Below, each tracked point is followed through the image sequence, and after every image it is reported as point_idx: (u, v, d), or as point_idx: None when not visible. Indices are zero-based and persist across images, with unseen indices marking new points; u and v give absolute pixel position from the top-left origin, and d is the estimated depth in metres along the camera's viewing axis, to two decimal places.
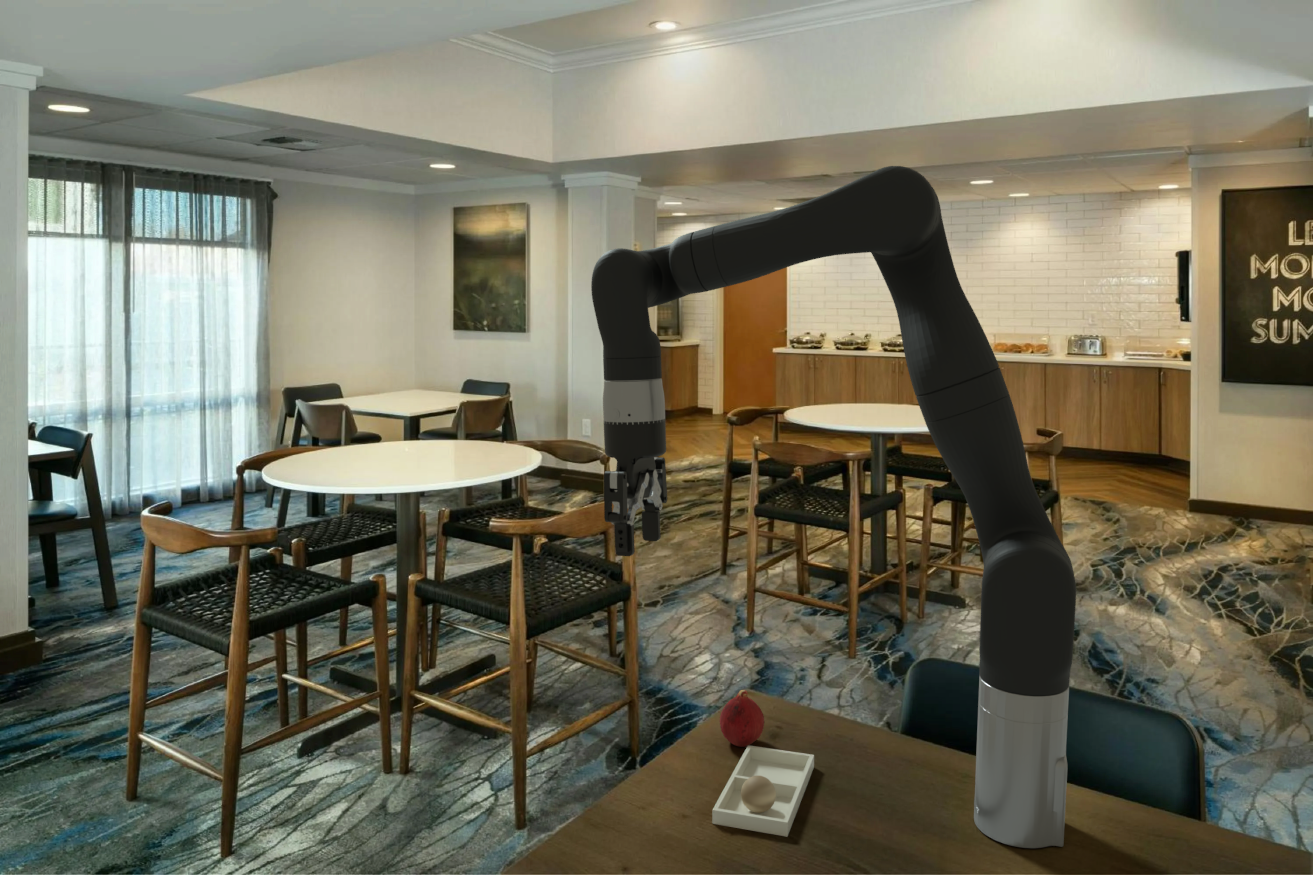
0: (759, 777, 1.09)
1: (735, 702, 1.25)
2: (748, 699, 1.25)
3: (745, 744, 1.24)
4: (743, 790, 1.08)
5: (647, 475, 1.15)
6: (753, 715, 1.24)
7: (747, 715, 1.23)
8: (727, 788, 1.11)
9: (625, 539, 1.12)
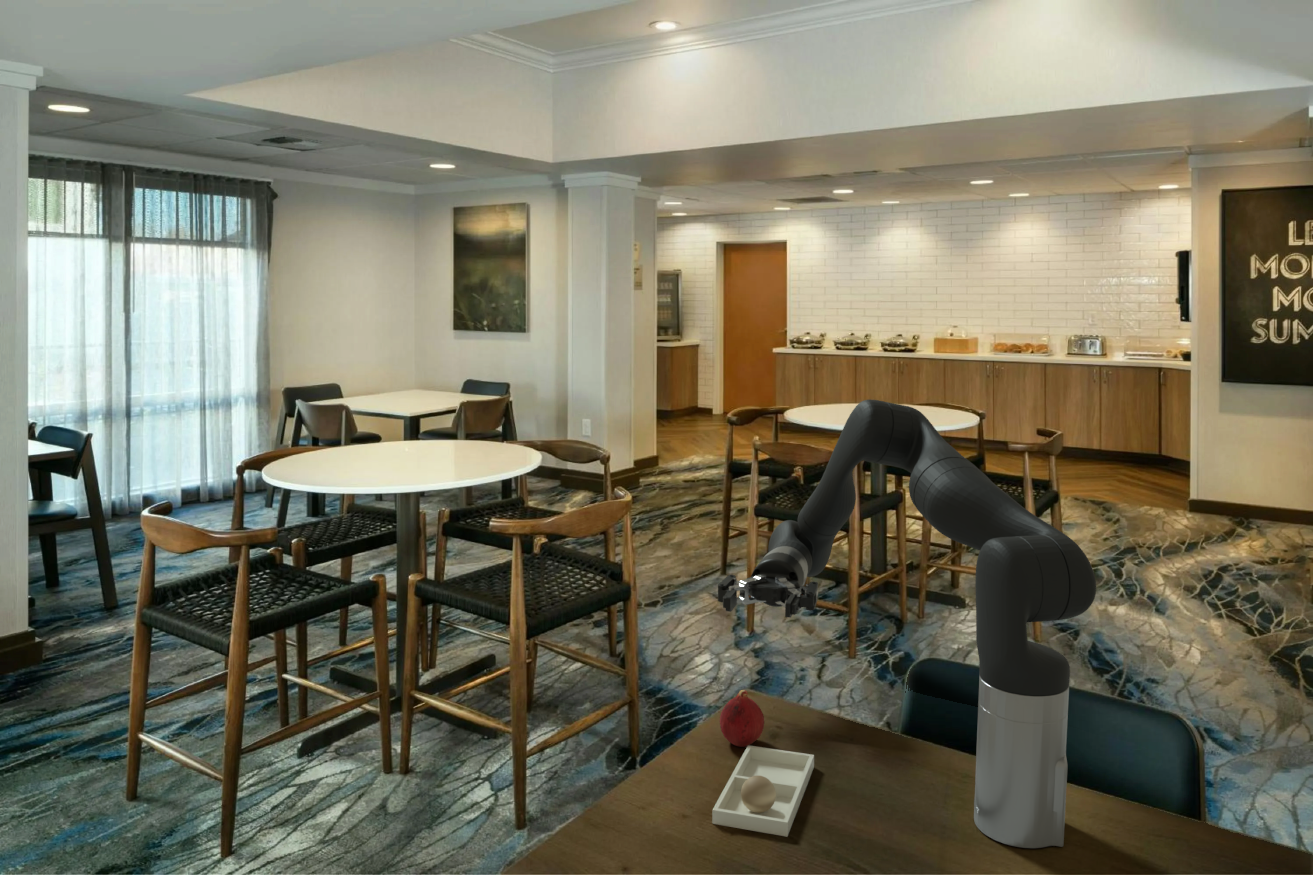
0: (759, 777, 1.09)
1: (735, 702, 1.25)
2: (748, 699, 1.25)
3: (745, 744, 1.24)
4: (743, 790, 1.08)
5: (763, 575, 1.42)
6: (753, 715, 1.24)
7: (747, 715, 1.23)
8: (727, 788, 1.11)
9: (724, 595, 1.37)
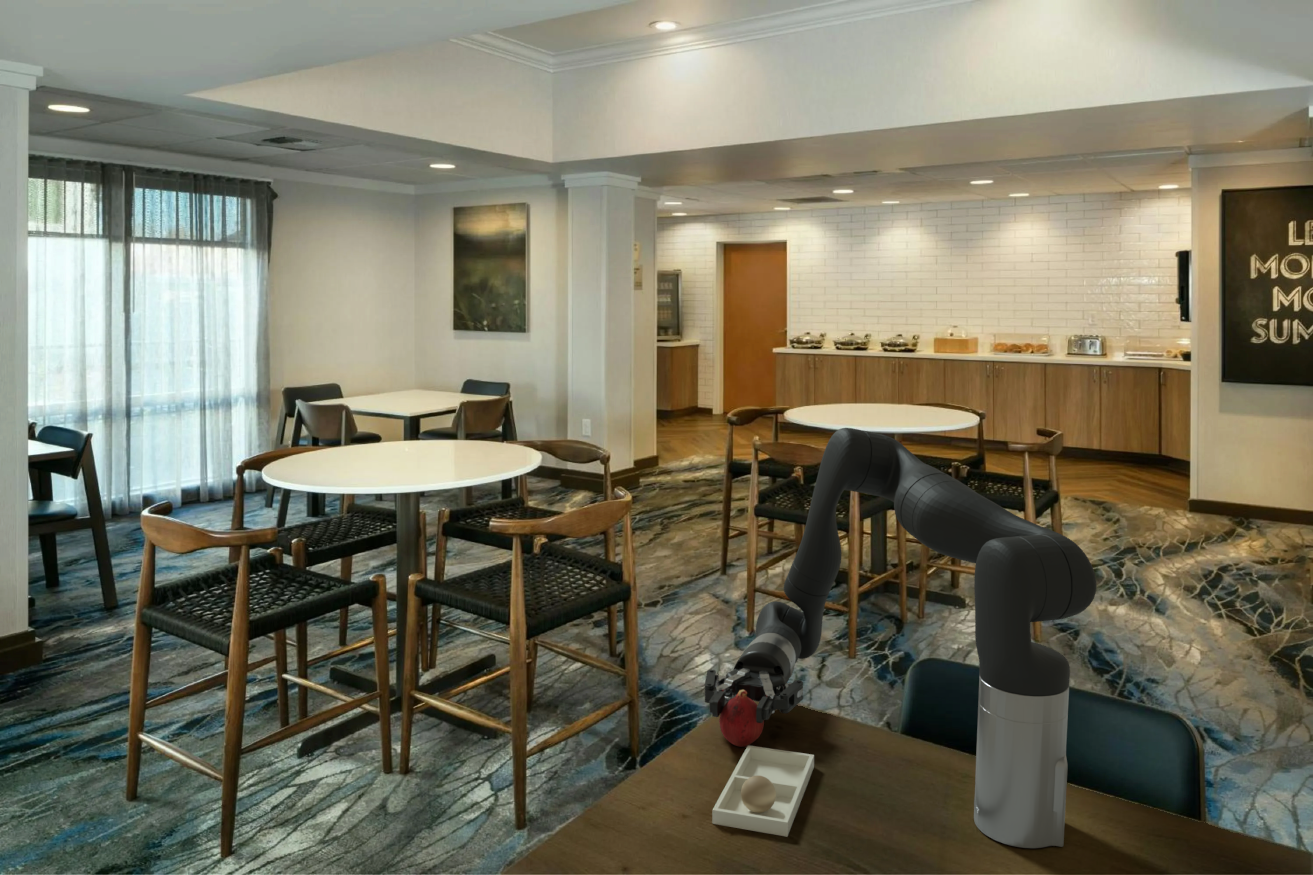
0: (759, 777, 1.09)
1: (735, 702, 1.25)
2: (747, 699, 1.25)
3: (745, 744, 1.24)
4: (743, 790, 1.08)
5: (746, 669, 1.33)
6: (753, 715, 1.24)
7: (746, 715, 1.23)
8: (727, 788, 1.11)
9: (711, 698, 1.26)
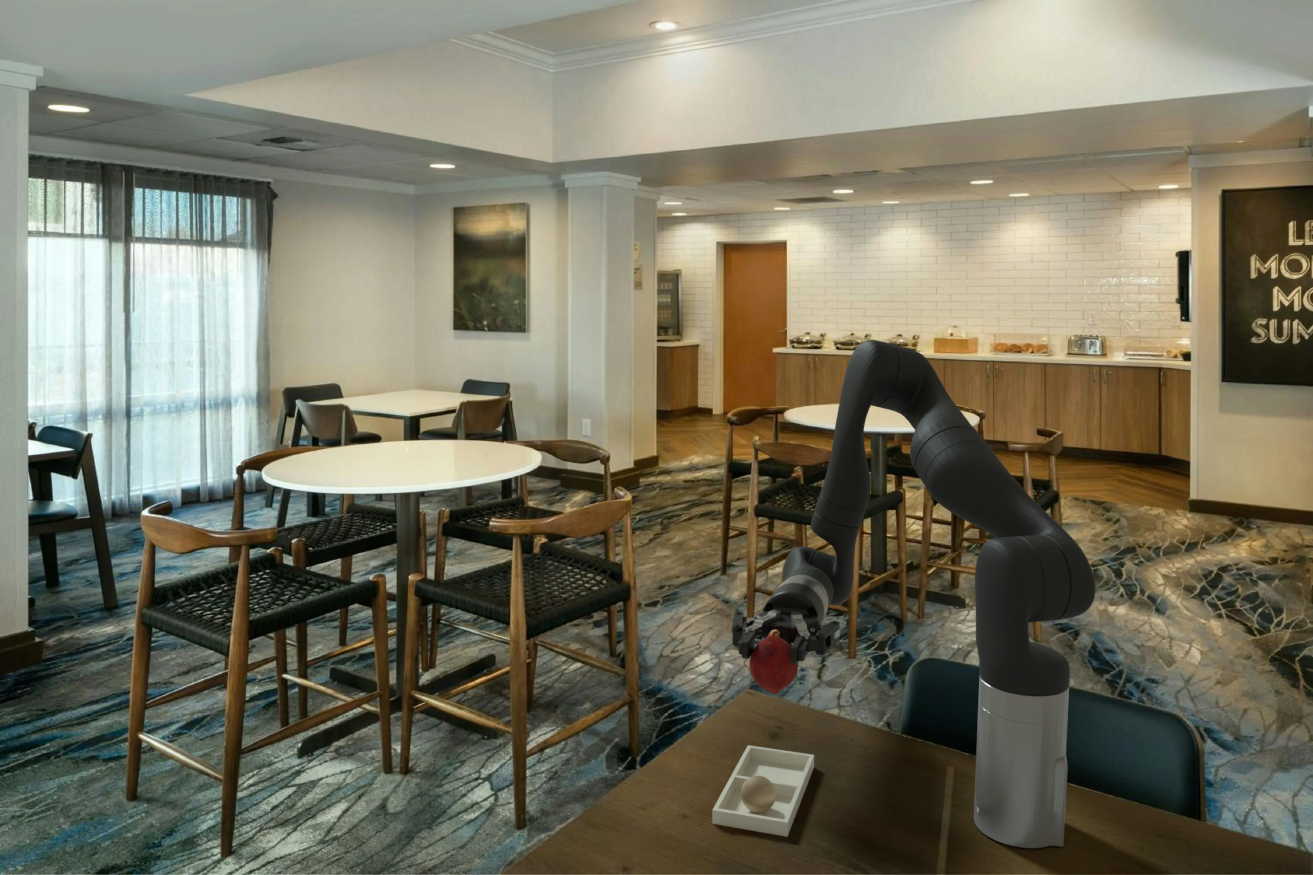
0: (759, 777, 1.09)
1: (766, 643, 1.14)
2: (780, 639, 1.14)
3: (778, 688, 1.13)
4: (743, 790, 1.08)
5: (777, 610, 1.21)
6: (787, 656, 1.13)
7: (780, 656, 1.12)
8: (727, 788, 1.11)
9: (740, 639, 1.15)
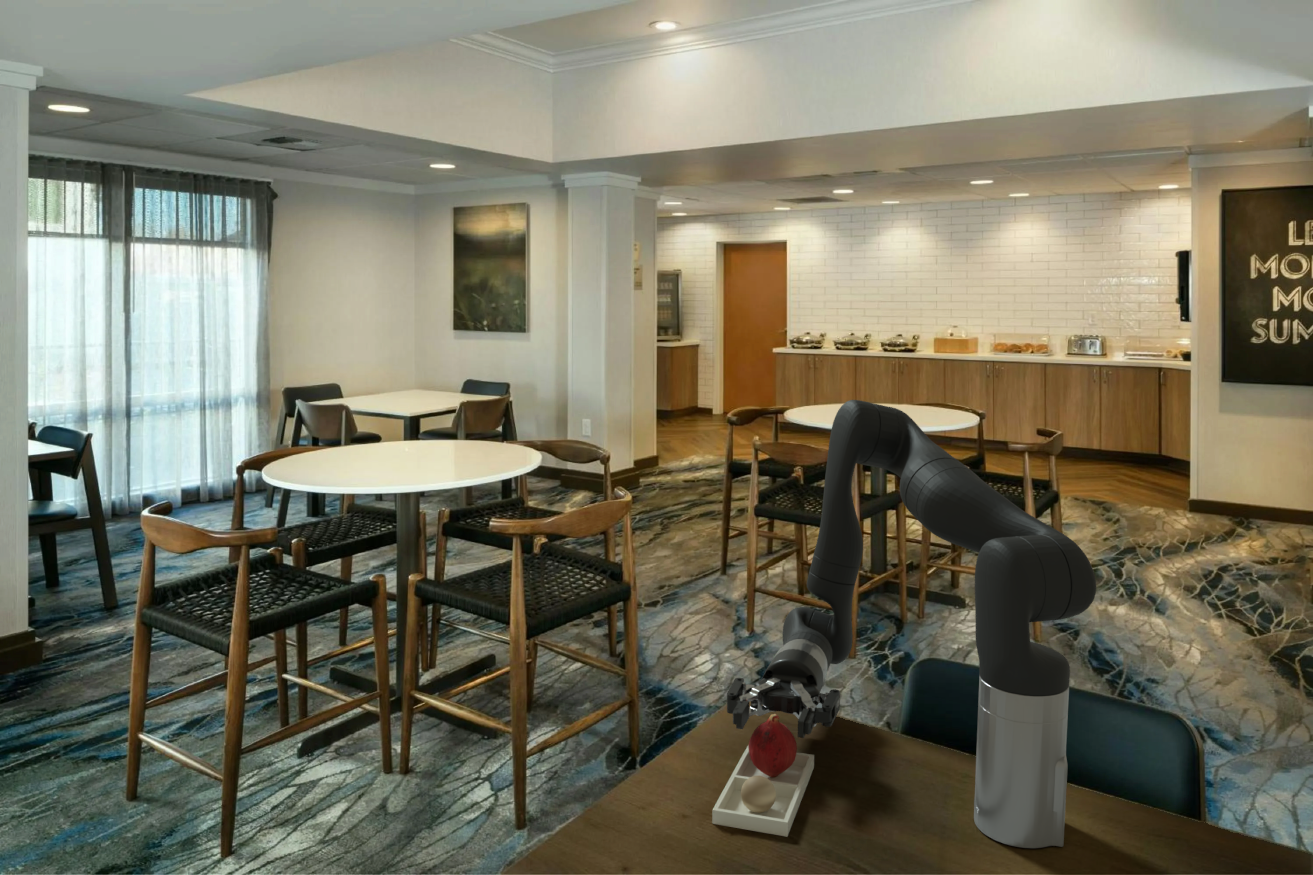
0: (759, 777, 1.09)
1: (766, 727, 1.15)
2: (780, 724, 1.16)
3: (776, 773, 1.15)
4: (743, 790, 1.08)
5: (777, 679, 1.23)
6: (786, 742, 1.14)
7: (779, 742, 1.14)
8: (727, 788, 1.11)
9: (735, 708, 1.17)
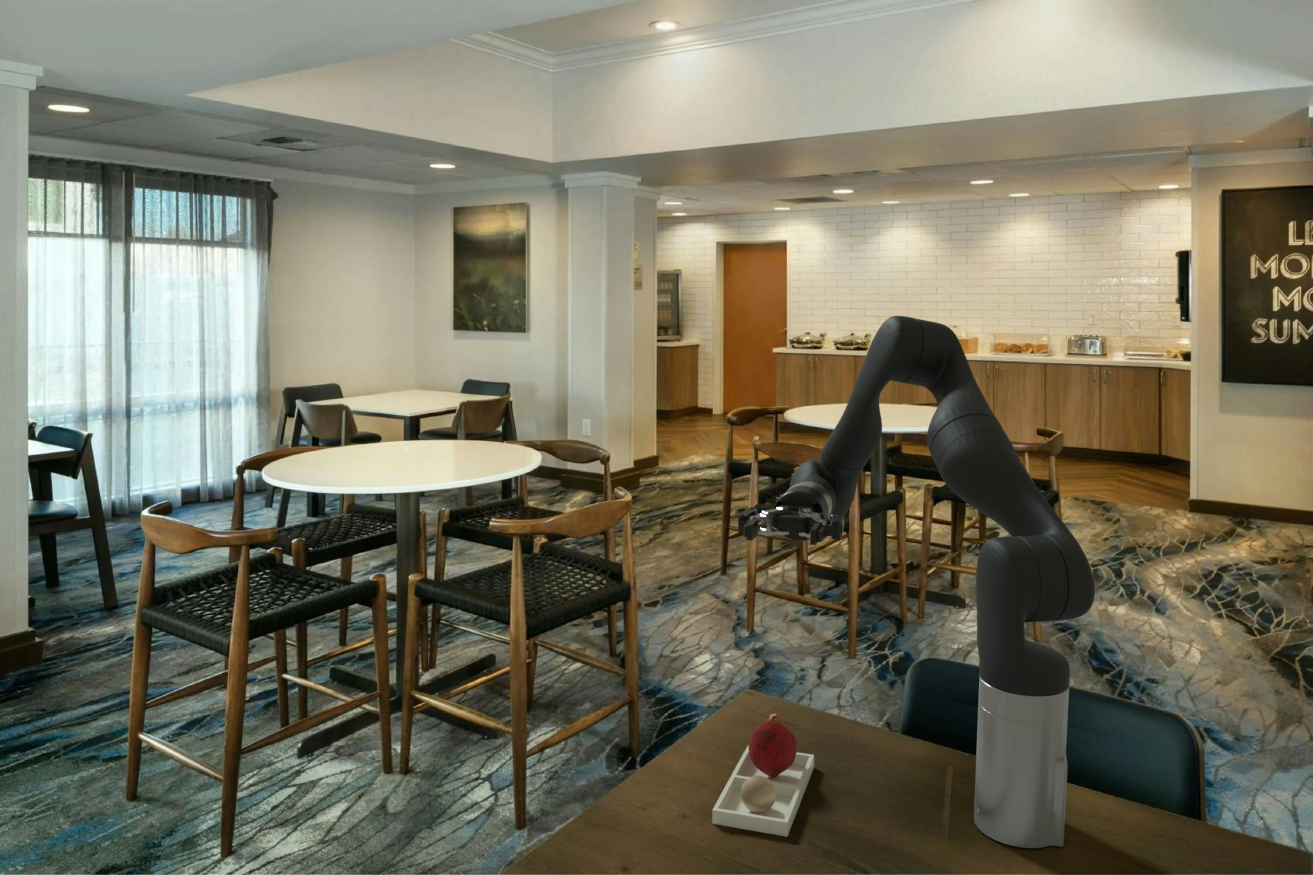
0: (759, 777, 1.09)
1: (766, 727, 1.15)
2: (779, 724, 1.16)
3: (776, 773, 1.15)
4: (743, 790, 1.08)
5: (786, 506, 1.35)
6: (785, 742, 1.14)
7: (779, 742, 1.14)
8: (727, 788, 1.11)
9: None
